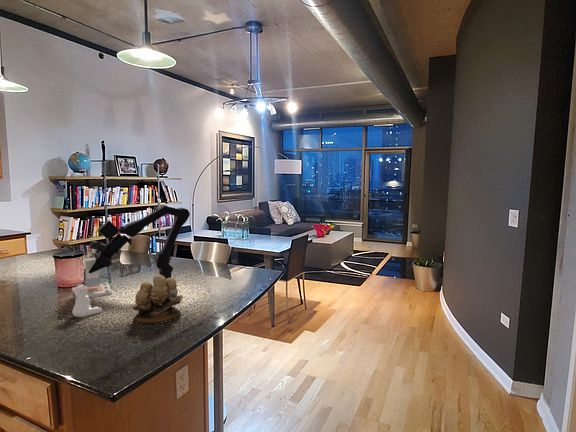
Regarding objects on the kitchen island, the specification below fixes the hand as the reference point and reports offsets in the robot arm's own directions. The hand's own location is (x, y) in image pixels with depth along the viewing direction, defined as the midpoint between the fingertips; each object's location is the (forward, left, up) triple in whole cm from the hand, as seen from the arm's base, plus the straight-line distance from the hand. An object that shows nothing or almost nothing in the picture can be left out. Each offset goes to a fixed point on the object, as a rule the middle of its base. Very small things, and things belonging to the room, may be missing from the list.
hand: (88, 271), depth 159 cm
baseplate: (0, -1, -10) cm, 10 cm away
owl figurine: (-48, -9, -10) cm, 50 cm away
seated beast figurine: (-26, +10, -10) cm, 30 cm away
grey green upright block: (0, -1, -7) cm, 7 cm away
